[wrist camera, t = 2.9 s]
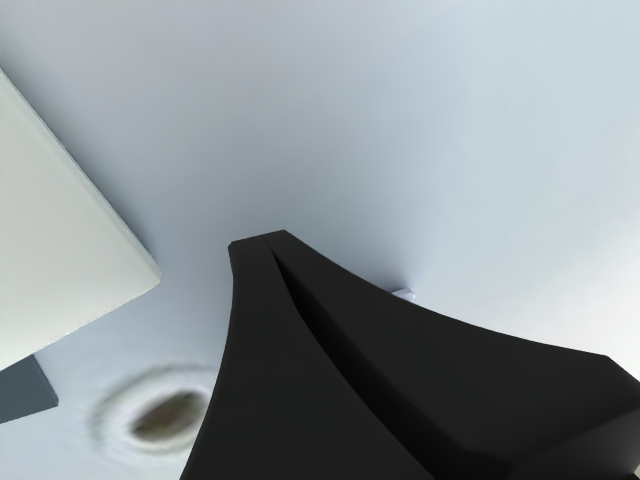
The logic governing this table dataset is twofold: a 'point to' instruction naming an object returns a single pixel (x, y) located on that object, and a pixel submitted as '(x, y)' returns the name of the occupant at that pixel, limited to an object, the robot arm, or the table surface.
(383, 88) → the table surface
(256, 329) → the robot arm
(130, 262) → the hard drive
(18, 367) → the grey rectangular frame
